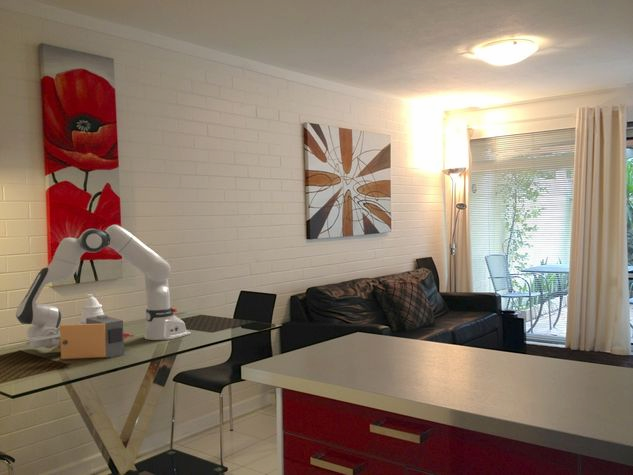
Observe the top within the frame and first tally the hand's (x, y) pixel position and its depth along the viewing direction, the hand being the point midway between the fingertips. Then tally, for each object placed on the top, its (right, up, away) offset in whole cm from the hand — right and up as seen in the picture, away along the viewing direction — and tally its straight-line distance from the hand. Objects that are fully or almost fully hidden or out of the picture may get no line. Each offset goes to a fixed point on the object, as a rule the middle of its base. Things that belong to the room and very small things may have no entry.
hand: (61, 342), depth 256 cm
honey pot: (-11, -4, +66) cm, 67 cm away
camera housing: (+16, -6, +8) cm, 19 cm away
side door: (+11, -6, -4) cm, 13 cm away
